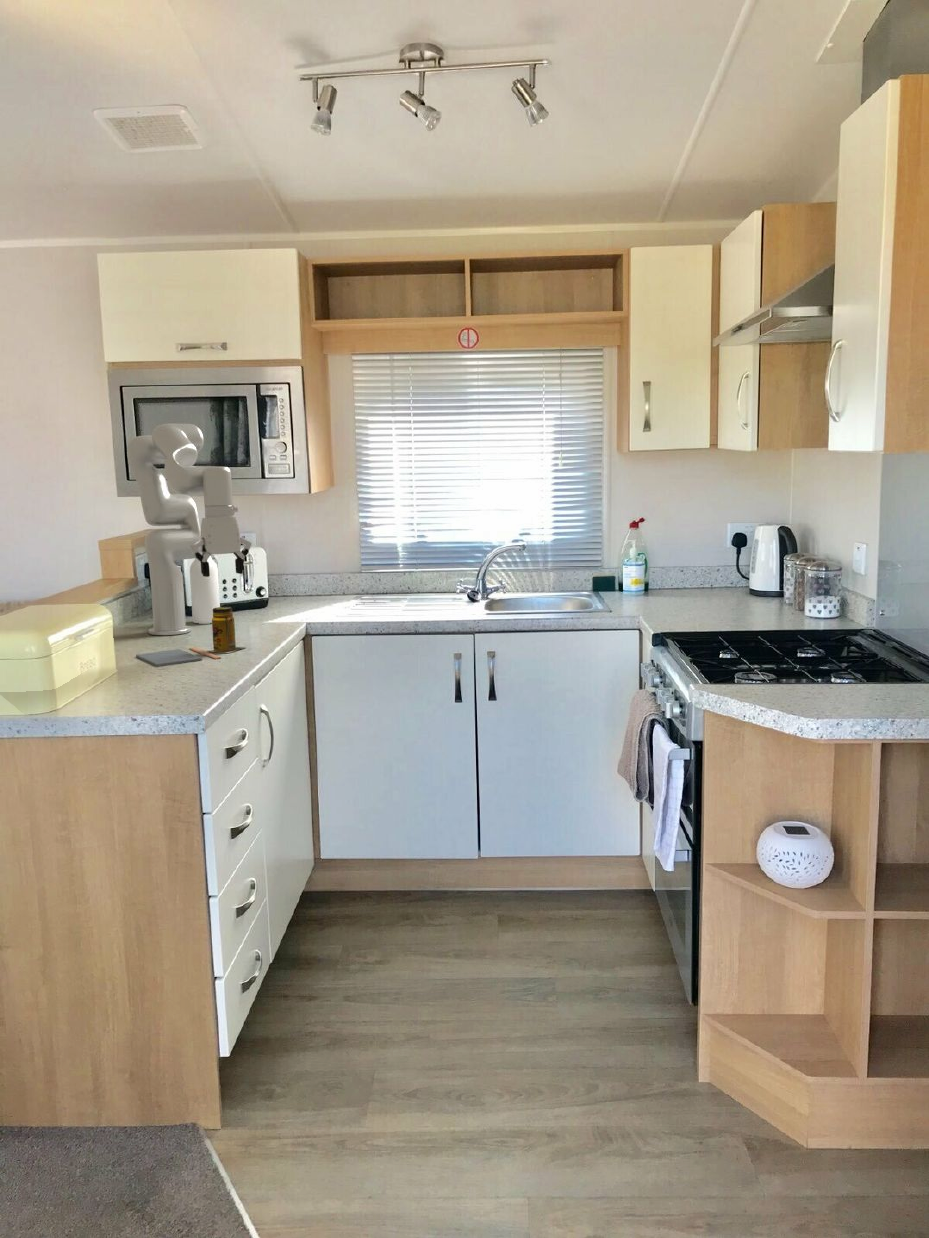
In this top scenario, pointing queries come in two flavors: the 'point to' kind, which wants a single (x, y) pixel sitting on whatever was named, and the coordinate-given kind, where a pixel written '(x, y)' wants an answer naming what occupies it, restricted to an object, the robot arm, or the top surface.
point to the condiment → (223, 630)
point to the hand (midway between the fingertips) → (223, 574)
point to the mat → (168, 657)
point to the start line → (205, 653)
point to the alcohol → (204, 592)
